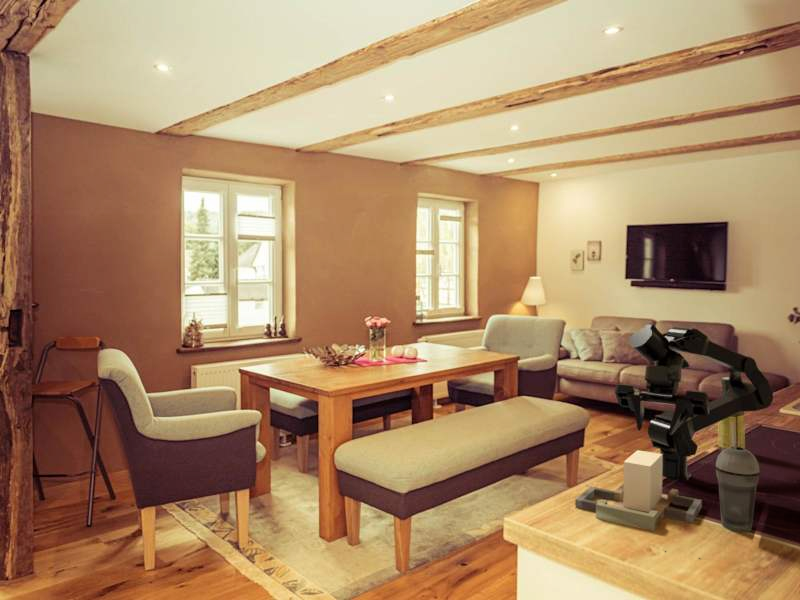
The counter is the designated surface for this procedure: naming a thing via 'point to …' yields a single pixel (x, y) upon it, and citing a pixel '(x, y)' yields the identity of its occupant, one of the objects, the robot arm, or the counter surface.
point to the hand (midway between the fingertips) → (654, 431)
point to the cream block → (642, 480)
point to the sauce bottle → (726, 427)
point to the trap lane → (637, 516)
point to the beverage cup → (737, 486)
